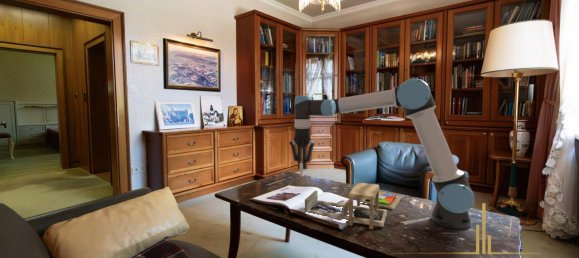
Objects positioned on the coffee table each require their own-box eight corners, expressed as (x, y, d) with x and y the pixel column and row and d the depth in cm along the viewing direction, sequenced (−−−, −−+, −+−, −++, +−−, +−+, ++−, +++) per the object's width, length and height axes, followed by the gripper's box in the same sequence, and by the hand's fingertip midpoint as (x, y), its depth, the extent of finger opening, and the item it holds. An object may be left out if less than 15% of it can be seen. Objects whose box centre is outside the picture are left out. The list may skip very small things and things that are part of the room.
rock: (382, 224, 121) (382, 211, 121) (358, 225, 120) (358, 212, 119) (373, 216, 130) (374, 204, 130) (350, 217, 129) (351, 205, 128)
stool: (378, 213, 133) (379, 184, 131) (372, 229, 116) (373, 196, 115) (357, 210, 137) (357, 182, 135) (348, 225, 120) (349, 193, 119)
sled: (386, 214, 129) (386, 199, 129) (383, 227, 116) (383, 210, 115) (315, 203, 144) (315, 190, 143) (304, 214, 131) (304, 199, 130)
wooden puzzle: (358, 204, 147) (358, 197, 146) (370, 194, 162) (370, 188, 162) (393, 211, 137) (393, 204, 136) (402, 200, 152) (402, 193, 152)
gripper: (317, 127, 136) (317, 175, 138) (293, 126, 141) (293, 172, 144) (312, 128, 129) (312, 178, 131) (286, 127, 135) (286, 175, 137)
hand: (302, 175), depth 138 cm, fingers closed
